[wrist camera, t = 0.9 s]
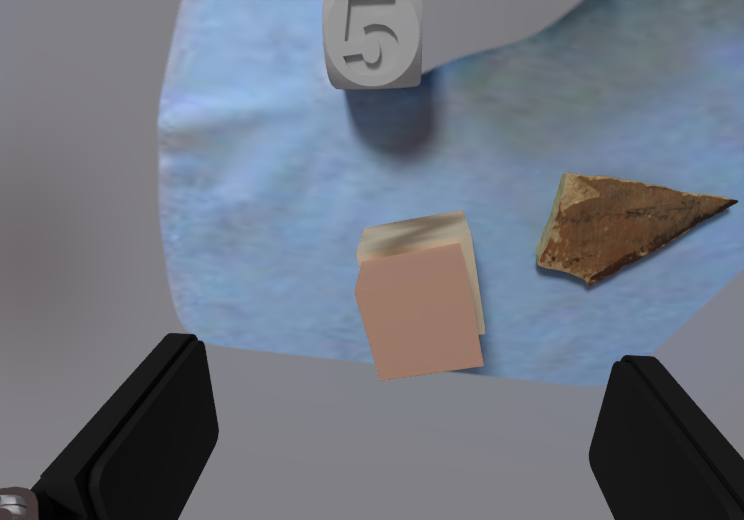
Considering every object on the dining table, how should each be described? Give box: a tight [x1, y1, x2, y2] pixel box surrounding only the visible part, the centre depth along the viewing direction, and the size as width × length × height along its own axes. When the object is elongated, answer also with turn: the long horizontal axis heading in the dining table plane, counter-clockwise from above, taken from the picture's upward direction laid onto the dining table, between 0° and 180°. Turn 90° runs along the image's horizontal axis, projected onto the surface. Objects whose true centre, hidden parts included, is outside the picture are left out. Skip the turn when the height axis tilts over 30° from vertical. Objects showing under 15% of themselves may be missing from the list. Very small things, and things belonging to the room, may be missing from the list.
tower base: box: [356, 210, 486, 335], centre depth 30 cm, size 7×7×5 cm
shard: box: [536, 173, 738, 286], centre depth 30 cm, size 11×8×2 cm
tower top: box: [354, 243, 484, 381], centre depth 26 cm, size 6×6×4 cm
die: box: [322, 0, 422, 89], centre depth 24 cm, size 5×5×5 cm
